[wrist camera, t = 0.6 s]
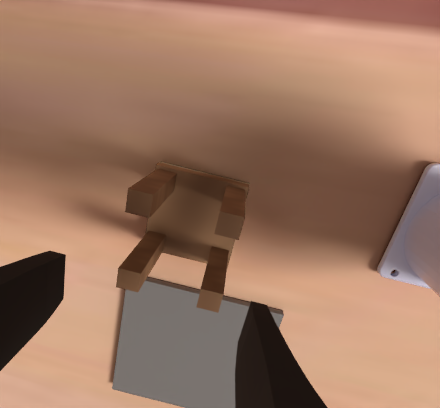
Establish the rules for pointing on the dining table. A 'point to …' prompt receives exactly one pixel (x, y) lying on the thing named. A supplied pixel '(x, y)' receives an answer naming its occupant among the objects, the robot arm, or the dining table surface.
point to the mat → (179, 346)
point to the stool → (186, 225)
